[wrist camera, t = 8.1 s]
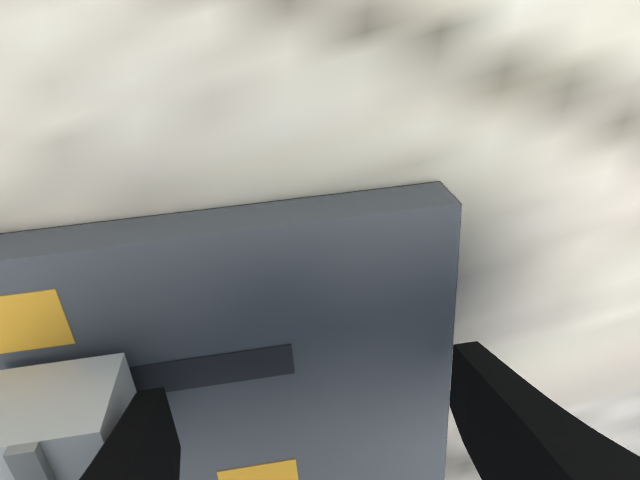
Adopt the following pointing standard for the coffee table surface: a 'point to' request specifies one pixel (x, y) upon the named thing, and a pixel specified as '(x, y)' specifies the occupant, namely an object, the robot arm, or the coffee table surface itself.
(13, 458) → the switch
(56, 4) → the coffee table surface
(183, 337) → the switch panel
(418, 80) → the coffee table surface
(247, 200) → the coffee table surface
